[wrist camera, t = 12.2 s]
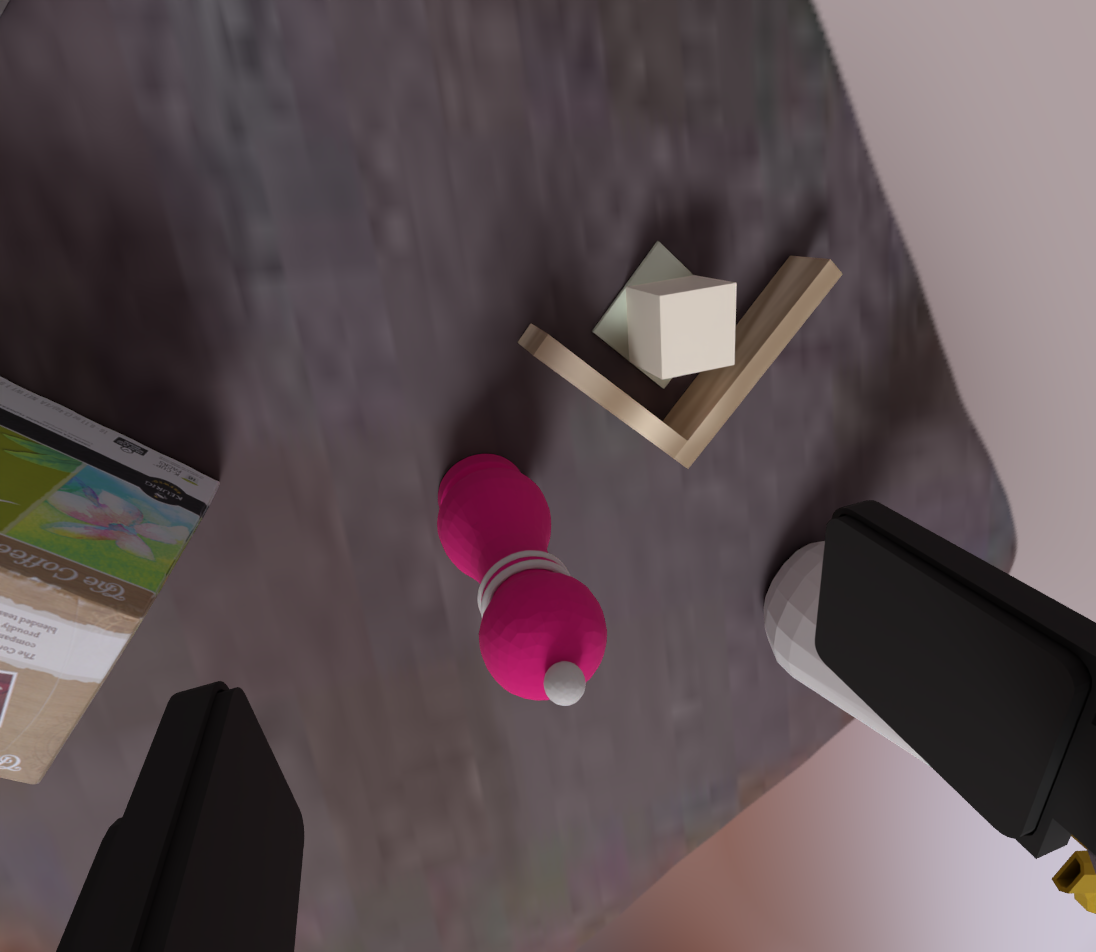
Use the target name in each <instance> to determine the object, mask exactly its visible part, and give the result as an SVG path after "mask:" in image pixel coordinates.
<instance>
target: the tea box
mask: <svg viewBox="0 0 1096 952" xmlns="http://www.w3.org/2000/svg"><path fill="white" fill-rule="evenodd" d="M218 486H219V481H216V480H214V479H212V478H210V477H208V476H206V475H204V474H202V473H200V472H198V471H196V470H194V469H193V468H191V467H189V466H187V465H185V464H183V463H181V462H179V461H177V460H175V459H172V458H170V457H168V456H165V455H163V454H161V453H159V452H157V451H155V450H153V449H151V448H149V447H146V446H144V445H142V444H141V443H139V442H137V441H135V440H133V439H131V438H129V437H126V436H124V435H122V434H120V433H118V432H116V431H113V430H111V429H109V428H106V427H104V426H102V425H100V424H98V423H96V422H94V421H92V420H89V419H87V418H85V417H83V416H81V415H79V414H77V413H76V412H74V411H72V410H70V409H68V408H66V407H64V406H62V405H60V404H57V403H55V402H53V401H51V400H49V399H47V398H44V397H42V396H39V395H37V394H35V393H33V392H30V391H28V390H26V389H24V388H22V387H20V386H18V385H16V384H14V383H12V382H10V381H8V380H6V379H5V378H3V377H1V376H0V777H1V778H6V779H10V780H14V781H19V782H24V783H29V784H38V783H40V781H41V780H42V778H43V777H44V775H45V774H46V772H47V770H48V769H49V767H50V766H51V764H52V762H53V761H54V759H55V758H56V756H57V754H58V753H59V751H60V750H61V748H62V746H63V745H64V743H65V742H66V740H67V739H68V737H69V736H70V734H71V732H72V731H73V729H74V728H75V726H76V725H77V723H78V722H79V720H80V719H81V717H82V715H83V714H84V712H85V711H86V709H87V708H88V706H89V705H90V703H91V701H92V700H93V698H94V697H95V695H96V694H97V692H98V690H99V689H100V687H101V686H102V684H103V683H104V681H105V679H106V678H107V676H108V675H109V673H110V672H111V670H112V669H113V667H114V665H115V664H116V662H117V661H118V659H119V657H120V656H121V654H122V653H123V651H124V649H125V648H126V646H127V645H128V643H129V641H130V640H131V638H132V636H133V635H134V633H135V632H136V630H137V628H138V627H139V625H140V623H141V622H142V620H143V618H144V617H145V615H146V614H147V612H148V610H149V609H150V607H151V605H152V604H153V602H154V600H155V599H156V597H157V595H158V594H159V592H160V590H161V588H162V587H163V585H164V583H165V582H166V580H167V578H168V576H169V575H170V573H171V571H172V569H173V568H174V566H175V564H176V562H177V561H178V559H179V557H180V555H181V554H182V552H183V550H184V549H185V547H186V545H187V544H188V542H189V540H190V539H191V537H192V535H193V534H194V532H195V530H196V528H197V527H198V525H199V523H200V522H201V520H202V518H203V517H204V515H205V513H206V511H207V509H208V507H209V505H210V503H211V501H212V499H213V497H214V495H215V493H216V491H217V489H218Z"/></svg>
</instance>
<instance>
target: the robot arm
mask: <svg viewBox="0 0 1096 952" xmlns="http://www.w3.org/2000/svg"><path fill="white" fill-rule="evenodd" d="M8 2H9V0H0V16H1V15H2V13H3V11H4V9H5V7H6V6H7V4H8ZM815 648H816V651H817V653H818V655H819V657H820V659H821V660H822V661H823V662H824V664H825V665H826V666H827V667H828V668H830V669H831V670H832V671H833V672H834V673H835V674H836V675H837V676H838V677H839V678H840V679H841V680H842V681H843V682H844V683H845V684H846V685H847V686H848V687H849V688H850V689H851V690H852V691H853V692H854V693H855V694H856V695H857V696H858V697H859V698H861V699H862V700H863V701H864V702H865V703H866V704H867V705H868V706H869V707H870V708H871V709H872V710H873V711H874V712H875V713H876V714H877V715H878V716H879V717H880V718H881V719H882V720H883V721H884V722H885V723H886V724H887V725H888V726H889V727H891V728H892V729H893V730H894V731H895V732H896V733H897V734H898V735H899V736H900V737H901V738H902V739H903V740H904V741H905V742H906V743H907V744H908V745H909V746H910V747H911V748H912V749H913V750H914V751H915V752H916V753H917V754H918V755H919V756H920V757H922V758H923V759H924V760H925V761H926V762H927V763H928V764H929V765H930V766H931V767H932V768H933V769H934V770H935V771H936V772H937V773H938V774H939V775H940V776H941V777H942V778H943V779H944V780H945V781H946V782H947V783H948V784H949V785H950V786H952V787H953V788H954V789H955V790H956V791H957V792H958V793H959V794H960V795H961V796H962V797H963V798H964V799H965V800H966V801H967V802H968V803H969V804H970V805H971V806H972V807H973V808H974V809H975V810H976V811H977V812H979V814H980V815H981V816H983V817H984V818H985V819H986V820H987V821H988V822H989V823H990V824H991V825H992V826H993V827H994V828H995V829H996V830H998V831H999V832H1000V833H1002V834H1003V835H1005V836H1007V837H1010V838H1015V839H1016V840H1017V841H1018V842H1019V843H1020V844H1021V845H1022V846H1023V847H1024V848H1026V850H1028V851H1029V852H1030V853H1031V854H1032V855H1033V856H1034V857H1035V858H1036V859H1037V858H1039V857H1041V856H1043V855H1046V854H1048V853H1050V852H1052V851H1054V850H1056V849H1059V848H1061V847H1063V846H1065V845H1067V843H1068V841H1069V839H1070V837H1071V835H1073V836H1074V837H1075V838H1076V839H1077V840H1078V841H1079V842H1081V843H1082V844H1083V845H1084V846H1085V847H1086V848H1087V851H1088V853H1089V856H1090V859H1091V862H1092V865H1093V868H1094V870H1095V873H1096V623H1095V622H1093V621H1091V620H1090V619H1088V618H1086V617H1084V616H1083V615H1081V614H1079V613H1077V612H1075V611H1073V610H1072V609H1070V608H1068V607H1066V606H1064V605H1063V604H1061V603H1059V602H1057V601H1056V600H1054V599H1052V598H1050V597H1048V596H1046V595H1045V594H1043V593H1041V592H1039V591H1037V590H1036V589H1034V588H1032V587H1030V586H1028V585H1027V584H1025V583H1023V582H1021V581H1019V580H1017V579H1016V578H1014V577H1012V576H1010V575H1009V574H1007V573H1005V572H1003V571H1001V570H1000V569H998V568H996V567H994V566H992V565H991V564H989V563H987V562H985V561H983V560H982V559H980V558H978V557H976V556H974V555H973V554H971V553H969V552H967V551H965V550H964V549H962V548H960V547H958V546H956V545H955V544H953V543H951V542H949V541H947V540H946V539H944V538H942V537H940V536H938V535H936V534H935V533H933V532H931V531H929V530H927V529H926V528H924V527H922V526H920V525H918V524H917V523H915V522H913V521H911V520H909V519H908V518H906V517H904V516H902V515H900V514H899V513H897V512H895V511H893V510H891V509H890V508H888V507H886V506H884V505H882V504H881V503H879V502H876V501H873V500H867V501H863V502H860V503H856V504H852V505H849V506H845V507H842V508H839V509H837V510H836V511H835V512H834V514H833V516H832V520H830V521H829V522H828V524H827V527H826V535H825V545H824V554H823V564H822V574H821V583H820V593H819V603H818V612H817V622H816V632H815ZM303 847H304V825H303V819H302V815H301V812H300V809H299V807H298V805H297V803H296V801H295V799H294V797H293V795H292V792H291V790H290V788H289V786H288V784H287V782H286V780H285V778H284V775H283V773H282V771H281V769H280V767H279V765H278V763H277V761H276V759H275V756H274V754H273V752H272V750H271V748H270V746H269V744H268V742H267V739H266V737H265V735H264V733H263V731H262V729H261V727H260V725H259V723H258V720H257V718H256V716H255V714H254V712H253V710H252V708H251V706H250V703H249V701H248V699H247V697H246V695H245V693H244V692H243V690H242V689H241V688H239V687H237V688H233V689H230V690H229V688H228V686H227V685H226V684H225V683H224V682H221V681H218V682H214V683H211V684H207V685H204V686H200V687H196V688H193V689H189V690H186V691H182V692H179V693H176V694H174V695H173V696H172V697H171V698H170V700H169V702H168V704H167V707H166V709H165V712H164V714H163V717H162V719H161V722H160V724H159V727H158V729H157V732H156V734H155V737H154V739H153V742H152V744H151V747H150V749H149V752H148V754H147V757H146V760H145V762H144V765H143V767H142V770H141V772H140V775H139V777H138V780H137V782H136V785H135V787H134V790H133V792H132V795H131V797H130V800H129V802H128V805H127V807H126V810H125V812H124V815H123V817H122V818H119V819H117V820H116V821H115V822H114V823H113V824H112V825H111V826H110V827H109V829H108V831H107V833H106V835H105V836H104V838H103V840H102V842H101V844H100V847H99V849H98V852H97V854H96V856H95V859H94V861H93V864H92V866H91V869H90V871H89V873H88V876H87V878H86V881H85V883H84V885H83V888H82V890H81V893H80V895H79V897H78V900H77V902H76V905H75V907H74V910H73V912H72V914H71V917H70V919H69V922H68V924H67V926H66V929H65V931H64V934H63V936H62V939H61V941H60V943H59V946H58V948H57V951H56V952H294V946H295V935H296V924H297V913H298V902H299V891H300V880H301V869H302V858H303Z"/></svg>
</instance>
